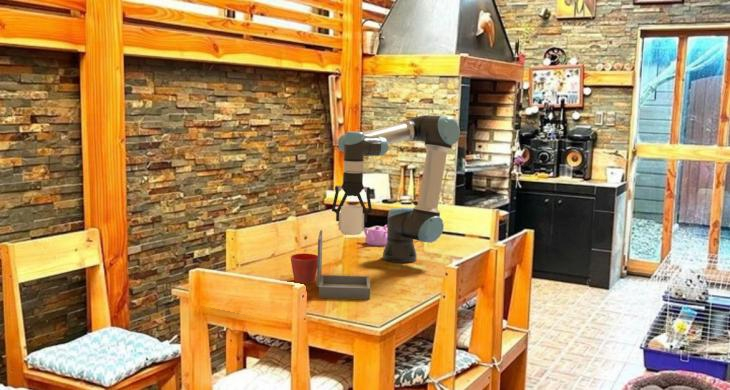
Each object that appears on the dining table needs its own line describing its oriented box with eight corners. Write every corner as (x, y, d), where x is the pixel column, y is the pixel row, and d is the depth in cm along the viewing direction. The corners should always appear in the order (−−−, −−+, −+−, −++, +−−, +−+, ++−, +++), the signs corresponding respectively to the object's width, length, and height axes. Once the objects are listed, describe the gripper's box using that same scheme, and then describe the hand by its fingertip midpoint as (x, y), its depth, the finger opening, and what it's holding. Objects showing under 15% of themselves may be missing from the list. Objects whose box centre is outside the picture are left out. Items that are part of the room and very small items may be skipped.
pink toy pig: (386, 241, 352) (387, 224, 351) (391, 247, 338) (392, 229, 337) (363, 241, 350) (363, 223, 349) (366, 247, 337) (367, 229, 335)
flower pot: (307, 286, 263) (308, 260, 261) (284, 281, 268) (285, 256, 267) (324, 280, 272) (324, 256, 270) (301, 276, 277) (301, 252, 276)
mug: (342, 229, 280) (343, 203, 278) (363, 230, 279) (364, 204, 278) (339, 234, 268) (339, 207, 266) (360, 235, 267) (361, 208, 266)
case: (368, 285, 267) (370, 231, 264) (369, 299, 248) (371, 240, 245) (317, 284, 266) (319, 229, 263) (315, 297, 248) (316, 239, 245)
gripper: (380, 171, 274) (377, 229, 277) (326, 170, 274) (324, 227, 277) (380, 173, 267) (378, 232, 270) (325, 171, 266) (323, 230, 269)
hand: (351, 230), depth 273 cm, fingers closed on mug, 8 cm apart
